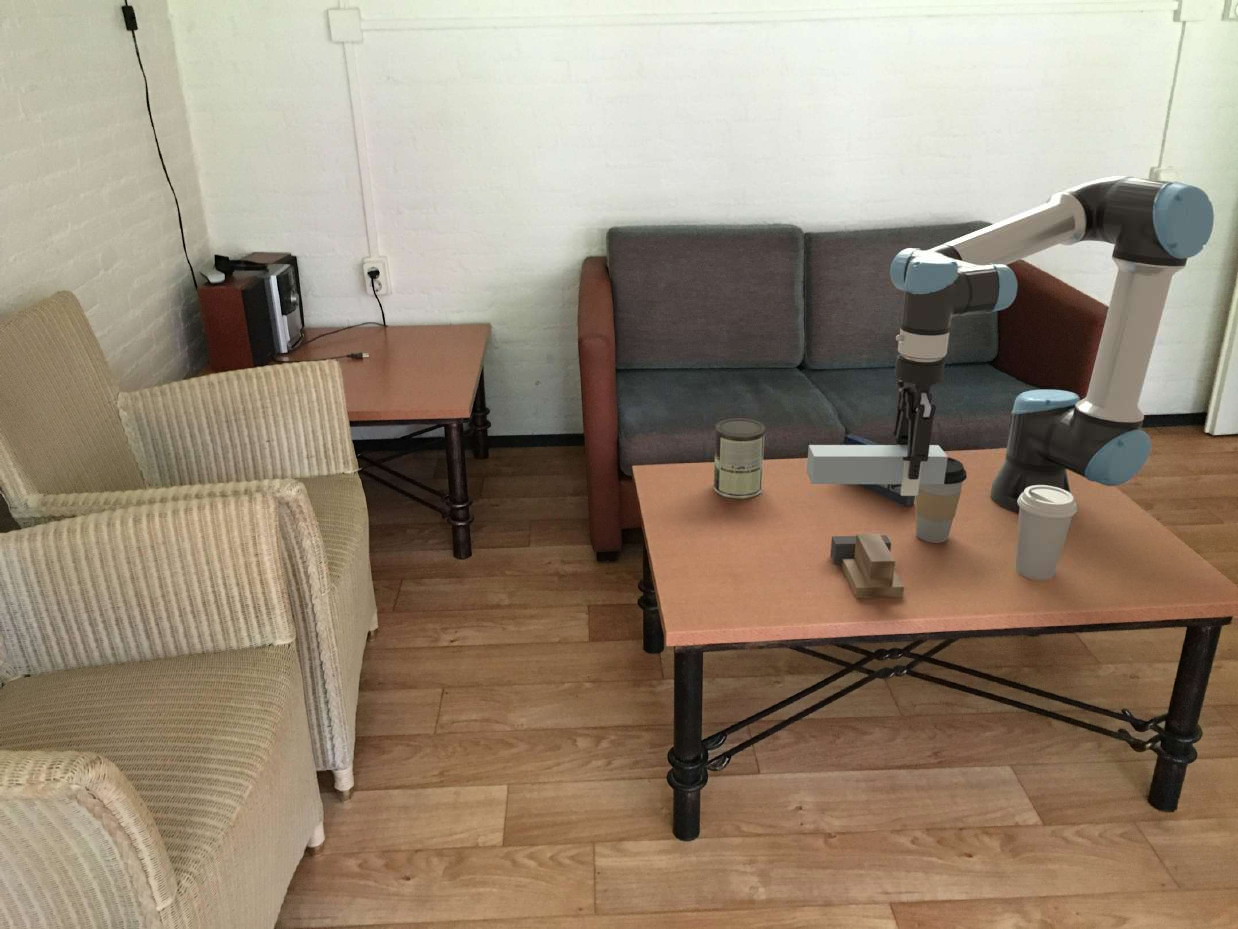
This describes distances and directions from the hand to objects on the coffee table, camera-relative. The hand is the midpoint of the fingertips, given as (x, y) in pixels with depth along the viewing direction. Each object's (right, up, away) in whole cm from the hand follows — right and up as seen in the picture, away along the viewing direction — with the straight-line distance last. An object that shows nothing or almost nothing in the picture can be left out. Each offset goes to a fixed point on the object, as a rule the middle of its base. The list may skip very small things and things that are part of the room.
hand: (904, 487), depth 166 cm
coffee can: (-23, -1, +41) cm, 47 cm away
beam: (-5, +2, -1) cm, 6 cm away
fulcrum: (-4, -17, +5) cm, 18 cm away
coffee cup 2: (+26, -15, +8) cm, 31 cm away
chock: (-4, -13, +13) cm, 19 cm away
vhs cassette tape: (+6, -2, +40) cm, 40 cm away
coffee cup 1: (+11, -10, +21) cm, 26 cm away
